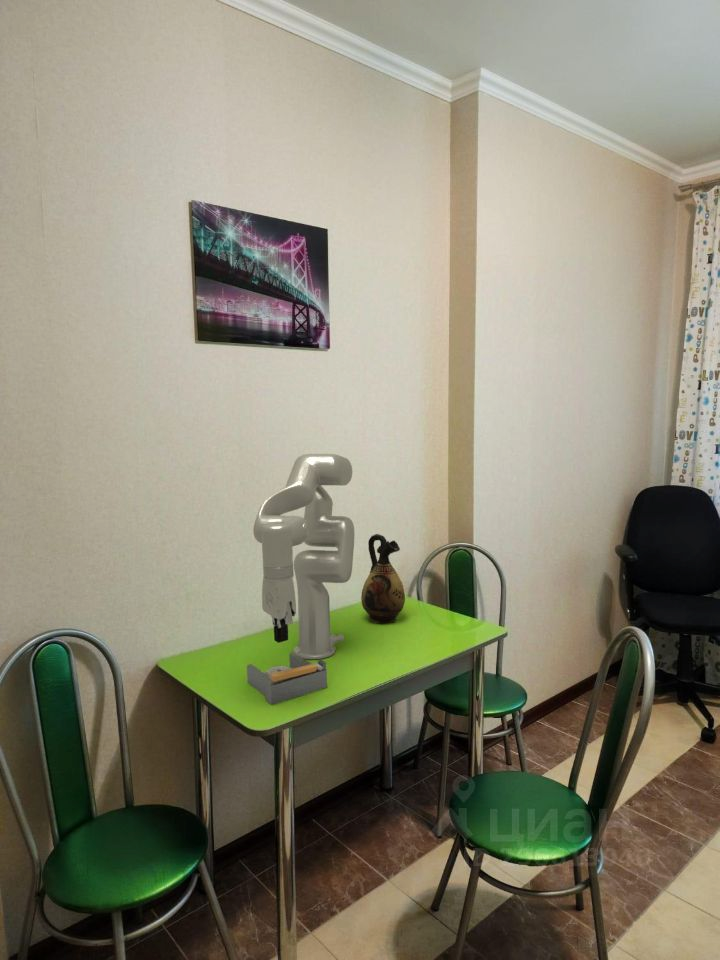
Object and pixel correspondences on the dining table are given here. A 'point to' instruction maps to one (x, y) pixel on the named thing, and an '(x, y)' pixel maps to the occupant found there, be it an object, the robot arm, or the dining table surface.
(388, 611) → the ceramic jug
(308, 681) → the bracket
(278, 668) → the mechanical component
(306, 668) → the bar
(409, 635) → the dining table surface
